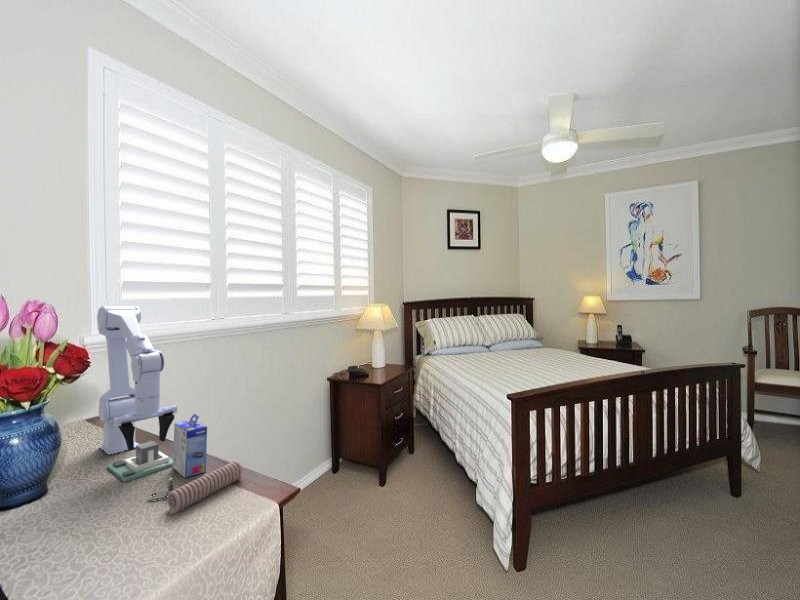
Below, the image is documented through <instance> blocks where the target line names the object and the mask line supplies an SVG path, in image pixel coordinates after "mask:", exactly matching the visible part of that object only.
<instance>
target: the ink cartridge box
mask: <svg viewBox="0 0 800 600" xmlns="http://www.w3.org/2000/svg"><path fill="white" fill-rule="evenodd" d="M199 417H200V416H199V415H197V414H196V413H193V414H192V416H191V417H190V419H189V420H183V421H180V422H176V423H174V427H173V448H172V449H173V450H172V460H173V466H172V468H173V469H174V470H175V471H177V473H179V474H180V475H181V476H182V477H183V478H190V477H192V476H193V477H194V476H195V475H200V474H203V473H206V472H207V446H208V445H207V443H208V442H207V438H208V426H207V425H204V424H203V423H201V422H199V421H198V420H199ZM193 418H195V419H193Z"/></svg>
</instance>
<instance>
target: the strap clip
mask: <svg viewBox="0 0 800 600" xmlns="http://www.w3.org/2000/svg"><path fill="white" fill-rule="evenodd" d="M166 487H167V488H166V489H167V490H163V491H157V492H153V493H150V494H149V496H148V498H147V502H148V501H153V500H159V499H164V498H166V497H167V496H168V494H169V492H171V491H174V490H175V488H174V481H173V477H172V476H171V477H169V479H168V481H167V485H166ZM153 495H155V496H153ZM151 496H153V497H151ZM150 498H151V499H150ZM166 499H167V498H166ZM164 500H165V499H164ZM159 501H160V500H159Z"/></svg>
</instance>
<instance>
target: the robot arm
mask: <svg viewBox="0 0 800 600" xmlns="http://www.w3.org/2000/svg"><path fill="white" fill-rule="evenodd" d="M96 317H97V319H96V320H97V330H98V334H100V335H101V336H104V337H105V341H106V347H107V349H106V350H107V362H108V363H107V364H108V373H109V374H108V375H109V385H110V387H109V389H108V390H107V391H105V392H104V393H102V395H101V396H100V398H99V400H98V401H99V405H98V416H99V418H100V419H99V420H101V421H102V422H103V423H104V424H103V425H102V426H103V427H102V428H103V429H102V430H103V431H102V433H103V434H102V445H99V446H98V448H99V447H100V448H101V449H100V448H99V449H100V450H102V449H103V450H104V451H105V452H104V451H103V450H102V451H103V452H104V453H105V454H107V455H109V456H110V454H112V455H115V454H118V452H119V453H122V452H126V451H134V449H136V445H140V443H138V442H136V422H140V421H145V420H148V419H153V418H158V425H159V433H158V437H159V441H160V442H162V443H163V442H166V438H167V435H168V431H169V429H170V427H171V425H172V423H173V421H174V420H175V414H177V413H178V406H176V405H174V404H173V405H169V406H161V405H160V403H161V402H160V401H161V400H160V399H161V397H160V396H161V382H160V381H161V372H163V370H164V368H165V358H164V354H163V352H162V351H160V350H158V349H155V347H154V346H153V344H152V342H151V341H150V339H149V337H148V336H147V335H144V334H142V331H141V328H140V322H141V319H142V311H141V308H140V307H139V306H137V305H132V306H131V305H129V306H126V305H125V306H123V305H122V306H118V305H116V306H105V305H101V306H100V307H99V309H98V310H97V316H96ZM128 354H129V356H130V359H131V361H130V362H131V363H130V366H131V367H130V369H131V372H132V380H133V381H134V387H133V386H131V384H130V375H129V363H128ZM125 450H126V451H125ZM114 453H115V454H114Z"/></svg>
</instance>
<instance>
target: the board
mask: <svg viewBox="0 0 800 600" xmlns="http://www.w3.org/2000/svg"><path fill="white" fill-rule="evenodd" d="M171 467H173V458H171V457H170V456H168V454H167V455H166V454H165V453H163V452H162V451H160V450H158V459H157V460H154V461H150V462H147V463H144V464H141V465H137V464H136V455H135V456H133V457H132V456H131V457H129V458H125V459H121V460H120V459H119V460H118V461H114V462H113V461H112V463H109V464H106V469H107V470H108V471H110V472H111V473H112V474H114V475H115V476H116V477H117V478H118V479H120V480H121V481H123V483H126V481H127V482H129V481H132V480H136V479H138V478H142V477H145V476H147V475H150V474H153V473H156V472H159V471H162V470H165V469H167V468H168V469H169V468H171Z"/></svg>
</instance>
